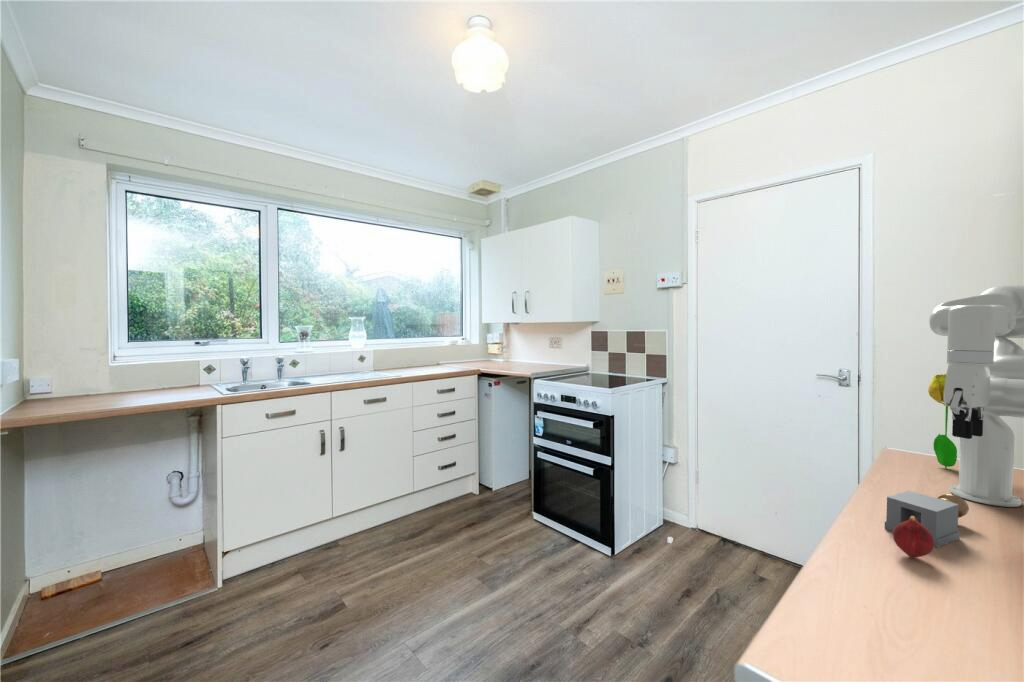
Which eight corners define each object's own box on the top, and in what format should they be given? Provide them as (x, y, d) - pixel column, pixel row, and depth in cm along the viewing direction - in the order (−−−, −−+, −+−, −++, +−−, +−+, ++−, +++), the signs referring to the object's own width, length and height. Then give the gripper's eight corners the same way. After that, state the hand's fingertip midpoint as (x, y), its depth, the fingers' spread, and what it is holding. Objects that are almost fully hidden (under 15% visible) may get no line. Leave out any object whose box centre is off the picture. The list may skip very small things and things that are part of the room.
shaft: (939, 511, 101) (939, 490, 101) (968, 520, 97) (969, 498, 97) (910, 521, 96) (911, 499, 96) (939, 531, 92) (940, 507, 92)
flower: (936, 463, 142) (938, 372, 141) (969, 470, 135) (973, 374, 134) (921, 466, 139) (924, 373, 138) (955, 474, 131) (958, 375, 130)
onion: (941, 567, 80) (943, 524, 80) (905, 564, 81) (906, 522, 81) (919, 551, 86) (920, 511, 86) (885, 548, 87) (886, 509, 87)
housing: (906, 521, 99) (907, 490, 99) (959, 538, 91) (960, 504, 91) (884, 528, 96) (885, 496, 95) (937, 547, 87) (938, 512, 87)
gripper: (965, 356, 107) (962, 429, 108) (930, 358, 100) (927, 436, 101) (1009, 358, 100) (1006, 436, 101) (975, 360, 93) (972, 444, 94)
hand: (967, 435), depth 101 cm, fingers open, 4 cm apart
